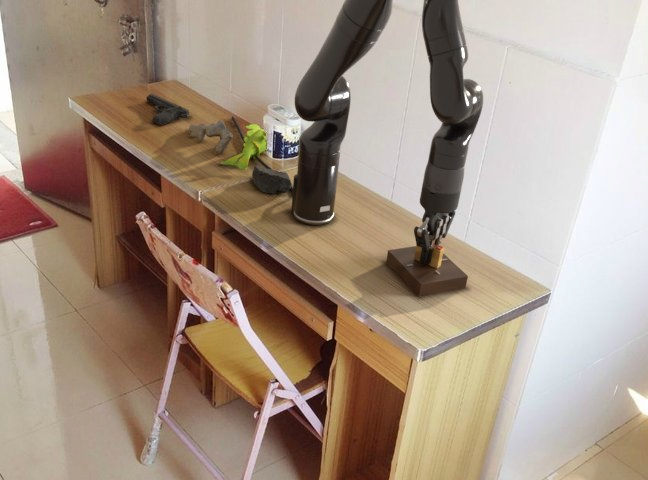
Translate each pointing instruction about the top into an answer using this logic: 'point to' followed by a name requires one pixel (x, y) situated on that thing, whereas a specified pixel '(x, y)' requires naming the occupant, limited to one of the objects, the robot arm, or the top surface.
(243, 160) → the toy
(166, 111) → the handgun
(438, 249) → the red-tipped tan block
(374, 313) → the top surface
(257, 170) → the rock
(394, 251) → the lock plate
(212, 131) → the grey lumpy bent piece
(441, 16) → the robot arm
